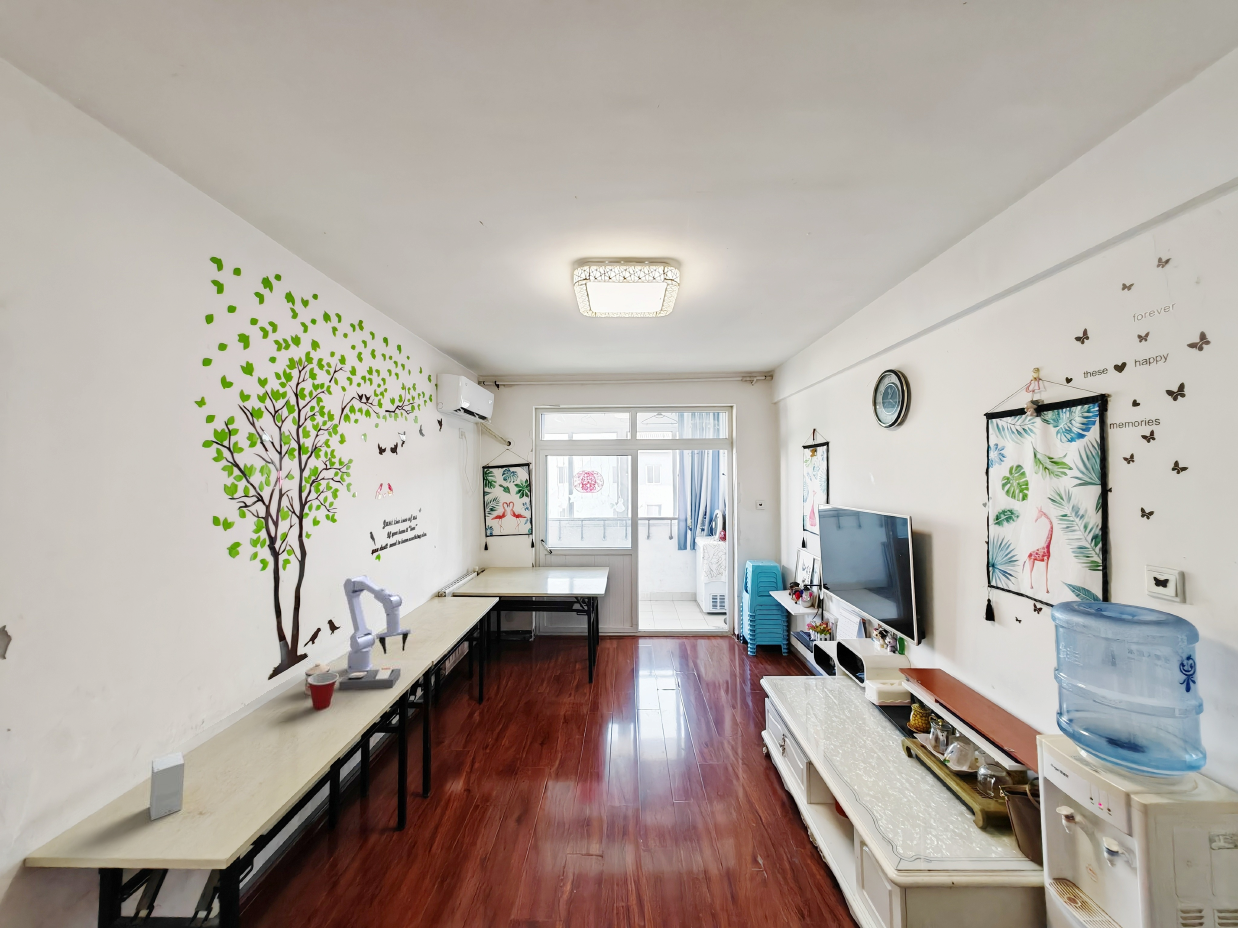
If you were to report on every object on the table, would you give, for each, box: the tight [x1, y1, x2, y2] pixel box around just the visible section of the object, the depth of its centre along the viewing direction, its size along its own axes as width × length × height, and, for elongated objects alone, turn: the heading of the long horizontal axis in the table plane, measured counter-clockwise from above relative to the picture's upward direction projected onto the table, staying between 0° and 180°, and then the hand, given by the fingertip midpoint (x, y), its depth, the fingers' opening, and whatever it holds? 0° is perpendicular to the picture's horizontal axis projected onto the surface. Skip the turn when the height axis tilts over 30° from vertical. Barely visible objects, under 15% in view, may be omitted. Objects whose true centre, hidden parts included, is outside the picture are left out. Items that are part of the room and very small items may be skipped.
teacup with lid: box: [304, 662, 331, 696], centre depth 207 cm, size 12×9×12 cm
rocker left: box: [349, 672, 367, 678], centre depth 215 cm, size 5×8×1 cm, turn 10°
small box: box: [149, 751, 185, 821], centre depth 134 cm, size 8×6×13 cm
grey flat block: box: [338, 668, 402, 691], centre depth 215 cm, size 22×12×4 cm, turn 100°
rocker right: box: [375, 666, 394, 679], centre depth 216 cm, size 5×8×1 cm, turn 10°
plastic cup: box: [308, 671, 340, 711], centre depth 193 cm, size 11×11×12 cm
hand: (394, 651), depth 222 cm, fingers open, 7 cm apart
